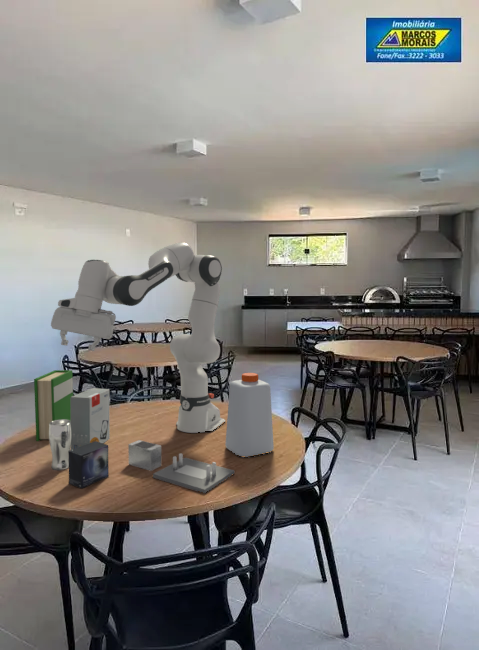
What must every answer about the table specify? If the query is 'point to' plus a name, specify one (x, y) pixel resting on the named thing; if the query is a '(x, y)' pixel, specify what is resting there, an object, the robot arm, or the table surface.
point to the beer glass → (60, 443)
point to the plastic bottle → (249, 417)
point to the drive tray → (193, 474)
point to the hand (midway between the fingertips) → (77, 347)
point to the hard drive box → (90, 417)
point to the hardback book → (52, 400)
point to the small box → (88, 464)
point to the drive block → (144, 455)
